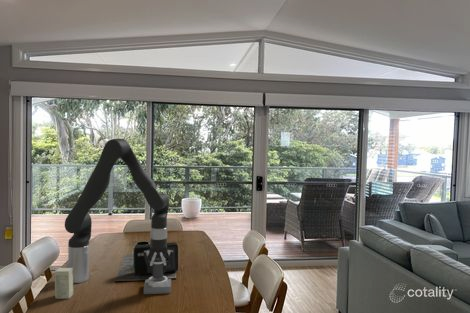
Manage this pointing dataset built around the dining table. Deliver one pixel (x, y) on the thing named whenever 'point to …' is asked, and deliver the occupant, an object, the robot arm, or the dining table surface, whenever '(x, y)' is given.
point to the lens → (157, 268)
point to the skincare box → (63, 283)
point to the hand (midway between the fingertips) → (158, 272)
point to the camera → (139, 259)
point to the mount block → (157, 285)
